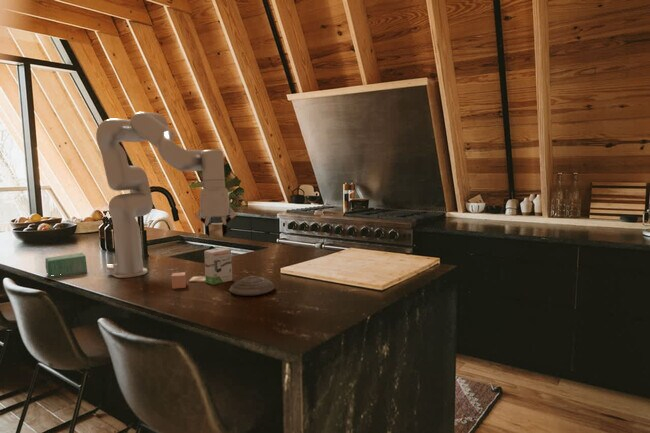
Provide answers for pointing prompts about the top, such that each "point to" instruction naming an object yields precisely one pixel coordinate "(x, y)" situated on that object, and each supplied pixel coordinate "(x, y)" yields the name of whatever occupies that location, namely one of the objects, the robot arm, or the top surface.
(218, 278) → the ink box
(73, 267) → the box
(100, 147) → the robot arm
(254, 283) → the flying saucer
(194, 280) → the tile
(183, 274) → the terracotta block
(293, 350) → the top surface
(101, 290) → the top surface
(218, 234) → the maple block
